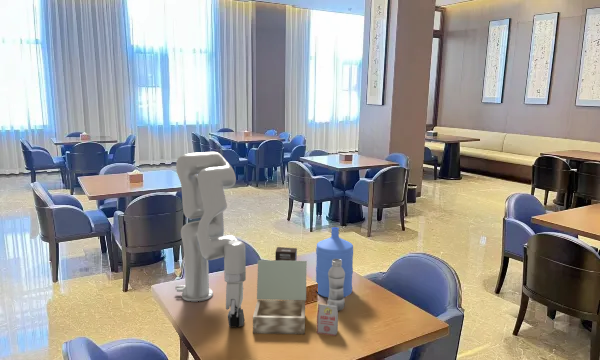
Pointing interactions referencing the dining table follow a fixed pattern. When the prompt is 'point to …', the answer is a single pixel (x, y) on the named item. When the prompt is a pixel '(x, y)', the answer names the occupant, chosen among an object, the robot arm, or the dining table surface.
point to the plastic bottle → (336, 284)
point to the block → (241, 317)
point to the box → (279, 317)
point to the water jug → (325, 255)
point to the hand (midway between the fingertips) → (235, 323)
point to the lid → (281, 280)
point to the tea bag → (327, 320)
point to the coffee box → (286, 254)
